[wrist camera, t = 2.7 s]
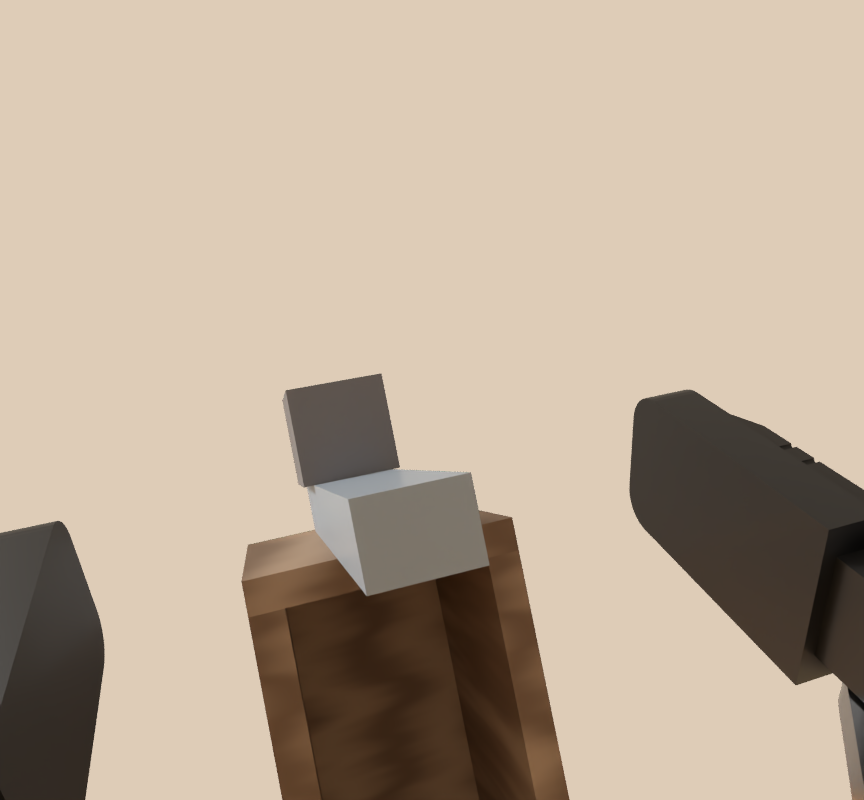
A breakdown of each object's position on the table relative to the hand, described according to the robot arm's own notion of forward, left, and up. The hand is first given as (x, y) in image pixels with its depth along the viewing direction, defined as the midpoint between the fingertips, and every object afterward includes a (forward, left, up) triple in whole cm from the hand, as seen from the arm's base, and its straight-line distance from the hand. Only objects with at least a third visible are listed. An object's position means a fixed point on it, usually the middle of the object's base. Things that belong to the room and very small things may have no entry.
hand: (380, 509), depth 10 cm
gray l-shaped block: (+3, +23, -4) cm, 24 cm away
